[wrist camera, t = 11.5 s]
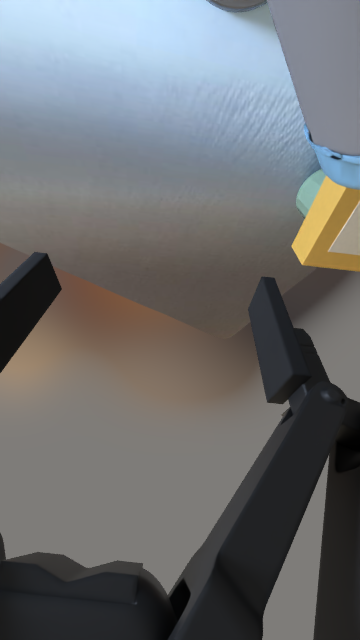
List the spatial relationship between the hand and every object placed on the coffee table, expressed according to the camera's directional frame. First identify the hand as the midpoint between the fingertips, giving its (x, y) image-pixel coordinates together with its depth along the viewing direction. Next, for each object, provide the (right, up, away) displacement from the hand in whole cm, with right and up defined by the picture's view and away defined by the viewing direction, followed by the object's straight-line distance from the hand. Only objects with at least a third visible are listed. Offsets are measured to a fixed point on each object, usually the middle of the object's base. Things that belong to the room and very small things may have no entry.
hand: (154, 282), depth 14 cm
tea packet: (+22, +11, +14) cm, 28 cm away
